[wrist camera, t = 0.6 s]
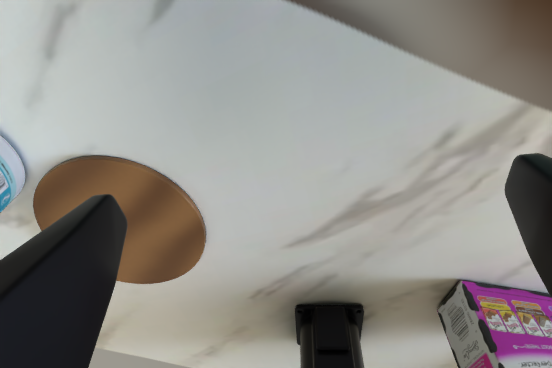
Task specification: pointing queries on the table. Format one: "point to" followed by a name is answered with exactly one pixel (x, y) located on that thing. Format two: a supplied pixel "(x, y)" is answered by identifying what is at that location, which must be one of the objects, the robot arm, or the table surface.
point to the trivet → (130, 214)
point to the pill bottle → (9, 173)
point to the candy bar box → (498, 326)
